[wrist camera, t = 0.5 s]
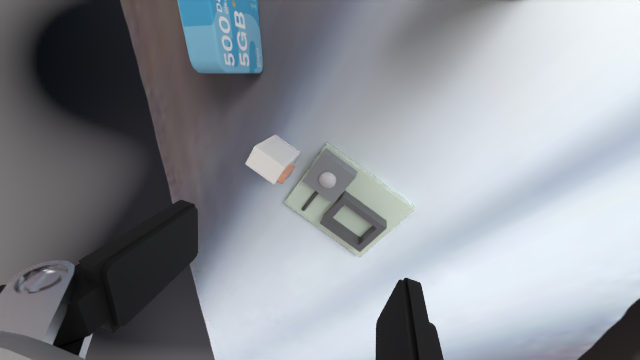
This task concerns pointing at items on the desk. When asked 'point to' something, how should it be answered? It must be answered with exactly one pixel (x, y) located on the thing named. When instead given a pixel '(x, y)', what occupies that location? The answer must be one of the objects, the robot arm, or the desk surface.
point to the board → (347, 201)
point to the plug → (273, 159)
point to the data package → (222, 35)
